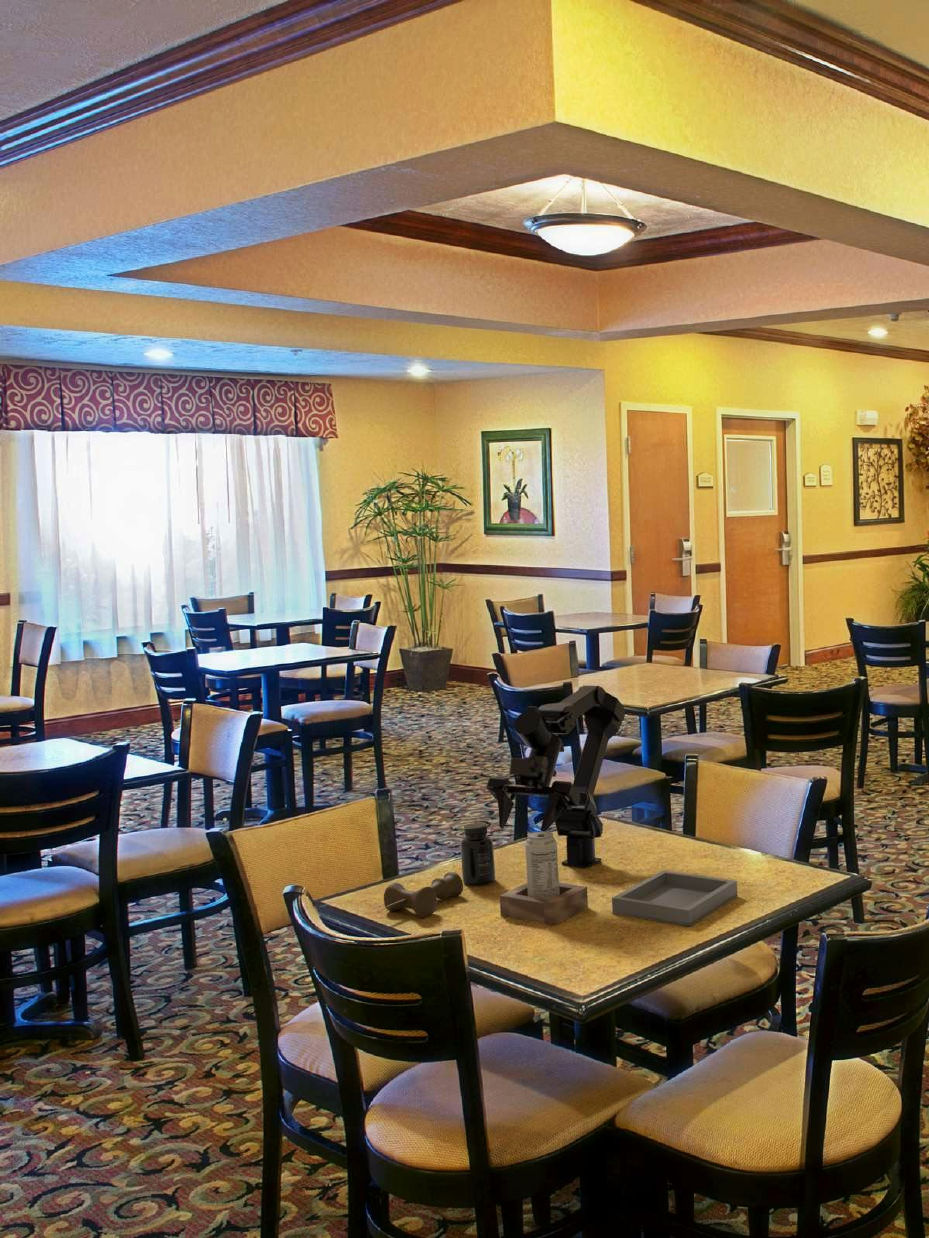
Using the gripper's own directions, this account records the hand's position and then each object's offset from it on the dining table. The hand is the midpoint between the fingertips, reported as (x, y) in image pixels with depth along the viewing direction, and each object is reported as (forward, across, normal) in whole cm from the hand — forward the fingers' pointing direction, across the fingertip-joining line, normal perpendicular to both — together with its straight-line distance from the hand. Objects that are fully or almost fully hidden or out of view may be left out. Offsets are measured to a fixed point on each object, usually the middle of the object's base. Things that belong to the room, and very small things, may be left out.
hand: (521, 829), depth 245 cm
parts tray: (+6, +29, +14) cm, 33 cm away
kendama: (+19, -16, 0) cm, 25 cm away
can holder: (+14, +7, +5) cm, 17 cm away
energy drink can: (+15, +7, +5) cm, 17 cm away
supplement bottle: (+6, -14, +14) cm, 21 cm away
